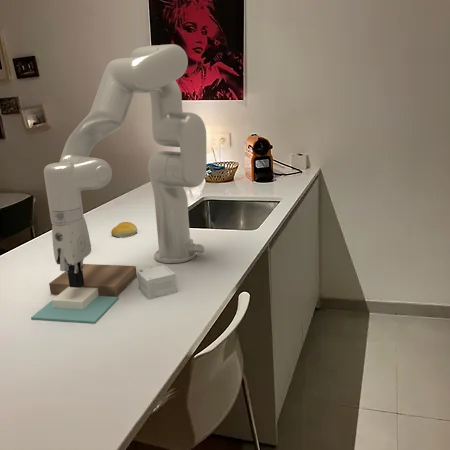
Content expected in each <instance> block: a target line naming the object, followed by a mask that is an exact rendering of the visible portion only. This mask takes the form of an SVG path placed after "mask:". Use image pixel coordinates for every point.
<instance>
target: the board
mask: <svg viewBox="0 0 450 450" xmlns="http://www.w3.org/2000/svg"><path fill="white" fill-rule="evenodd" d="M82 271H83V278H84V285H83V286H82V287H86V288H98V294H99V296H110V297H119V295H120V294H121V293H122V292H123V291H124V290H125V289H126V288H127V287H128V286H129V285H130V284H131V282H132V281H134V280H135V279H136V278H137V265H125V264H124V265H122V264H119V265H118V264H97V263H94V264H93V263H92V264H91V263H83V269H82ZM48 286H49V291H50V292H49V293H50V295H56V296H58V295H59V294H60V293H61V292H63V291H64V290H65V289H66V288H68V287H70V286H69V279H68V273H66V271H63V273H61V274H60V275H58V276H57V277H56V278H54V279H53V280H52V281H50V282H49V283H48Z"/></svg>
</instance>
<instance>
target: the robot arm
mask: <svg viewBox="0 0 450 450" xmlns="http://www.w3.org/2000/svg"><path fill="white" fill-rule="evenodd" d="M188 62H189V59H188V55H187V53H186V51H185V50H184V49H183V48H182V46H180V45H178V44H171V43H170V44H160V45H157V44H155V45H147V46H141V47H138V48H135V49H133V51H132V52H131V53H130V57H122V58H115V59H113V60H111V61H110V62H109V63H107V64H106V67H105V68H104V71H103V74H102V77H101V80H100V82H99V86H98V89H97V91H96V95H95V98H94V99H93V103H92V105H91V106H92V107H91V108H90V111H89V113H88V114H87V115H86V116H85V117H84V119H83V120H81V122H79V124H78V125H77V126H76V127H75V128H74V130H73V131H72V132H71V133H70V135H69V136H68V138H67V140H66V142H65V144H64V147H63V150H62V153H61V155H60V159H59V162H53V163H49V164H47V165H46V166H44V169H43V177H44V182H45V190H46V191H45V192H46V197H47V203H48V209H49V210H48V211H49V217H50V223H51V228H52V229H51V236H52V238H51V239H52V247H53V248H52V249H53V255H54V260H55V263H56V265H59V271H60V272H65V271H66V273H68V279H69V286H70V287H75V288H81V287H82V286H83V285H84V278H83V271H82V269H83V264H84V259H85V258H86V257H88V256H89V255H90V254H91V253H92V244H91V239H90V234H89V233H90V232H89V229H88V225H87V221H86V218H85V216H84V210H83V209H84V208H83V202H82V201H83V200H82V194H81V193H82V191H90V190H99V189H103V188H104V187H106V186H107V185H108V184H109V183H110V181H112V177H113V170H112V167H111V165H110V164H109V163H108V162H107V161H106V160H104V159H102V158H98V157H92V156H91V157H90V154H91V152H92V150H93V149H94V147H95V146H96V145H97V143H99V142H100V141H101V140H102V139H104V138H106V137H107V136H109V135H111V134H113V133H115V132H116V131H118V130H119V129H121V128H122V127H123V126H124V124H125V122H126V118H127V115H128V111H129V109H130V106H131V104H132V100H133V98H134V95H135V94H148V93H149V95H150V104H151V130H152V137H153V140H154V142H155V143H156V144H158V145H159V146H163V147H171V148H179V151H172V150H171V151H170V150H164V151H161V150H160V151H158V152H156V153H154V154H153V155H152V156H151V157H150V159H149V160H148V165H147V173H148V175H149V176H148V177H149V179H150V183H151V187H152V191H153V199H154V210H155V221H156V231H157V241H158V250H156V251H155V252H154V254H153V256H154V260H155V261H157V262H159V263H163V264H178V263H185V262H188V261H190V260H193V259H194V258H195V257H196V256H197V253H199V254H204V253H205V246H203V244H201V243H198V244H197V243H196V244H195V243H194V239H193V238H191V235H190V233H191V232H190V221H189V207H188V205H189V204H188V196H187V193H186V189H185V188H197V187H199V186H200V185H202V184H203V182H204V180H205V178H206V176H207V175H206V174H207V128H206V126H205V122H204V121H203V118H202V117H200V116H199V114H196V113H193V112H185V111H184V112H183V99H182V92H181V88H180V86H179V84H178V82H177V80H178V79H180V78H182V77H183V75H184V74H185V73H186V71H187V69H188V65H189V63H188Z"/></svg>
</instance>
